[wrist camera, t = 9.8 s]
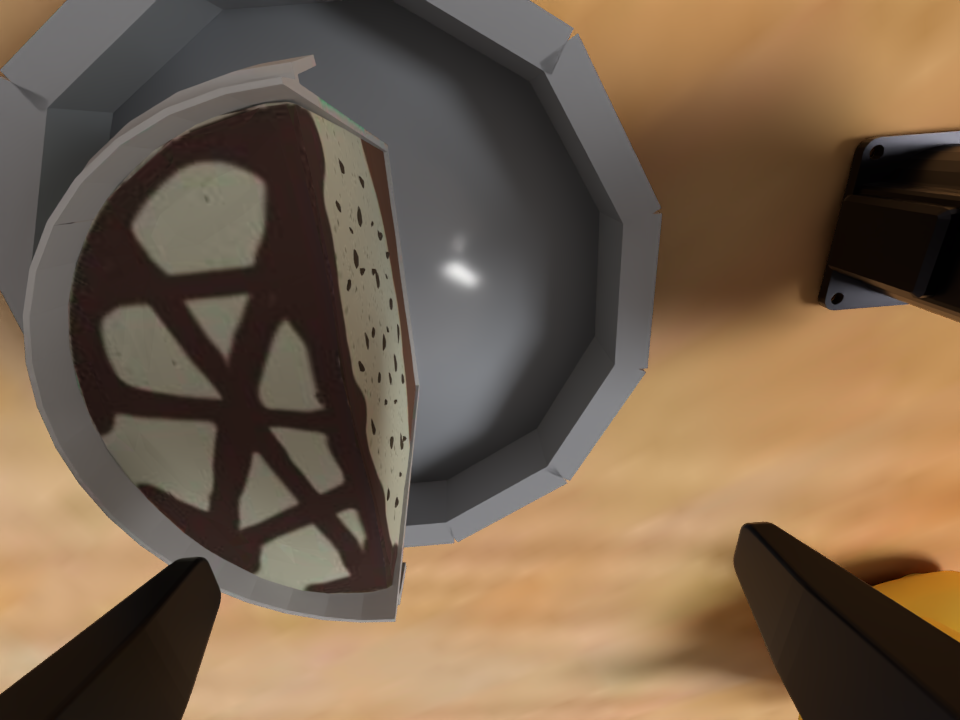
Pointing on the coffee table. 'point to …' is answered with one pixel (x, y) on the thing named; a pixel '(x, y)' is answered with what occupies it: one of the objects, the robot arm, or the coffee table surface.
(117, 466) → the food container
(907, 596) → the teapot
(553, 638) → the coffee table surface
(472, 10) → the bowl
